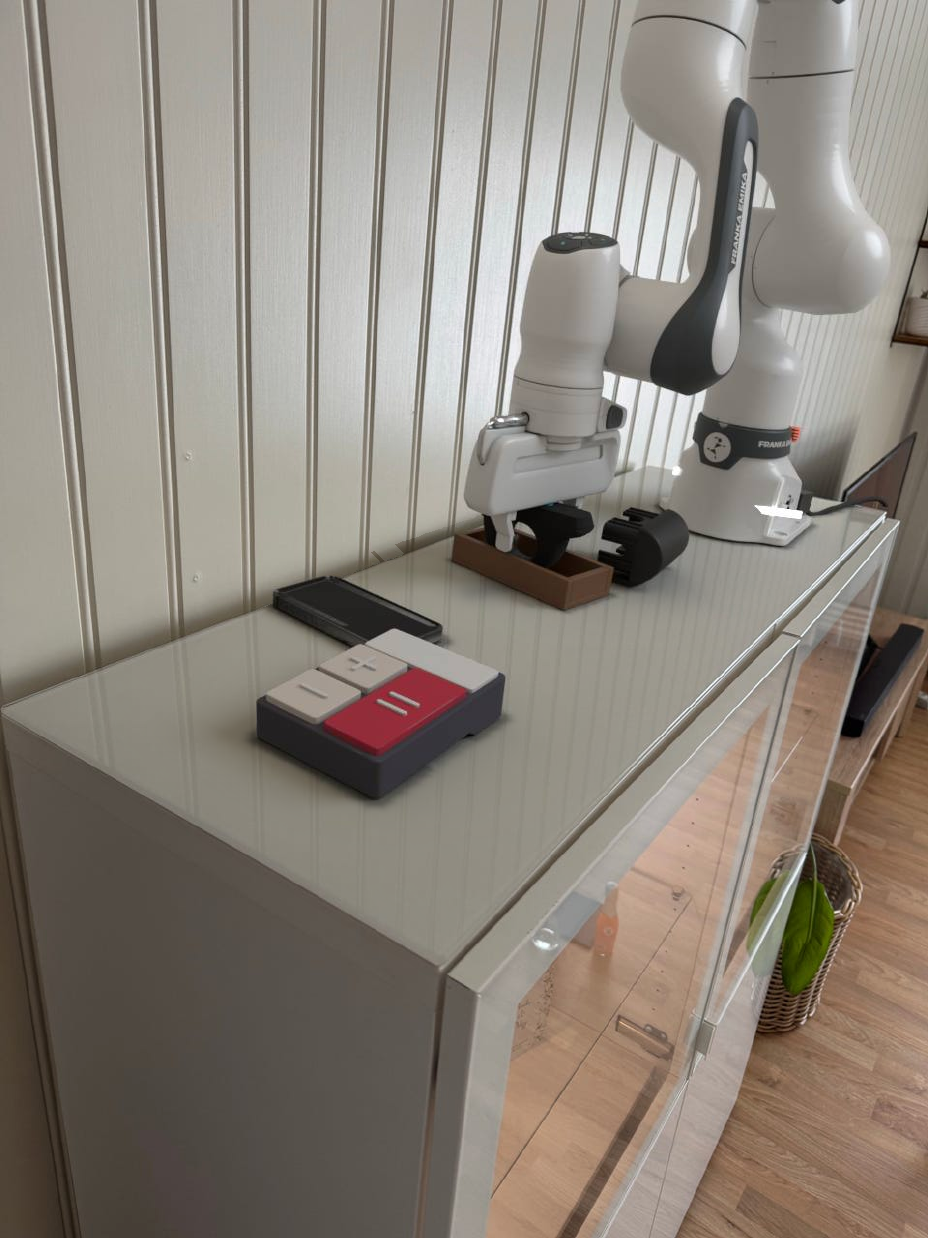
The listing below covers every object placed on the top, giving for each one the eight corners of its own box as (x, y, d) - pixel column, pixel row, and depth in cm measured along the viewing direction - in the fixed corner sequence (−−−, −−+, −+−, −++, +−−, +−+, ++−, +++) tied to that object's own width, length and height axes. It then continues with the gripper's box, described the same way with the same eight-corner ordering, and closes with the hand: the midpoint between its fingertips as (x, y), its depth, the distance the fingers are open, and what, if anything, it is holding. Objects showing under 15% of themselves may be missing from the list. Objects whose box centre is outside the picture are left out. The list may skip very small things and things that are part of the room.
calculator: (252, 690, 62) (393, 618, 74) (253, 743, 64) (390, 666, 76) (379, 753, 57) (509, 666, 68) (376, 809, 59) (503, 715, 70)
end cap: (654, 596, 98) (667, 535, 95) (592, 578, 100) (603, 518, 98) (682, 571, 106) (695, 514, 103) (623, 555, 109) (634, 499, 106)
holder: (497, 548, 106) (501, 522, 105) (608, 595, 96) (614, 567, 95) (451, 560, 100) (454, 533, 99) (563, 610, 91) (568, 581, 90)
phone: (331, 573, 90) (448, 626, 81) (330, 584, 90) (446, 638, 82) (266, 591, 84) (385, 650, 76) (266, 603, 84) (384, 663, 76)
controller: (489, 551, 103) (501, 463, 99) (588, 584, 97) (605, 491, 93) (468, 559, 99) (479, 469, 95) (569, 594, 94) (585, 499, 90)
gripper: (508, 425, 82) (489, 570, 88) (637, 410, 96) (614, 536, 102) (457, 409, 86) (442, 549, 92) (589, 397, 100) (569, 519, 106)
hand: (533, 542), depth 97 cm, fingers open, 7 cm apart
